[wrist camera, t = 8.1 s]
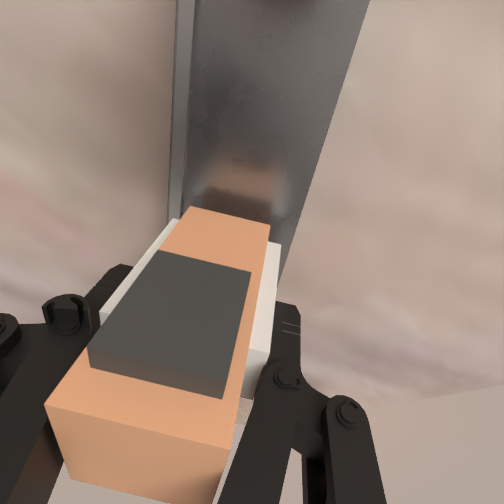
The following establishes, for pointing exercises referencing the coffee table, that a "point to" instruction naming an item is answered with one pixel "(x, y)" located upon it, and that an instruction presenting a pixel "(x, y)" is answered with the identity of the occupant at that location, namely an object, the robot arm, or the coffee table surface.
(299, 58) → the rail
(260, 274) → the block
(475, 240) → the coffee table surface
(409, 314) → the coffee table surface
